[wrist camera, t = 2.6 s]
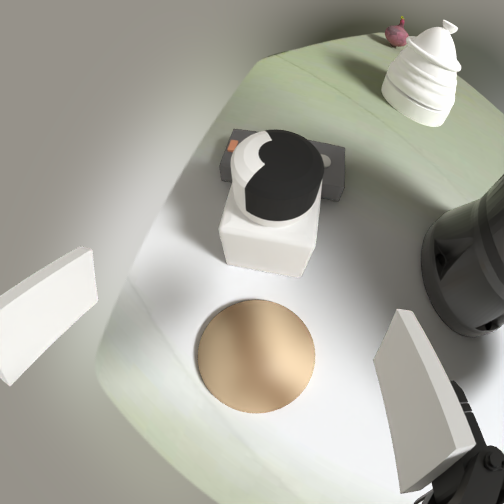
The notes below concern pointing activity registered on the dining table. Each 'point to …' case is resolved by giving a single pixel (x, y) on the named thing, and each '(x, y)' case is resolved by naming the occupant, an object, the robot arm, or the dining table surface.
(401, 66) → the honey pot
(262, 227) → the medicine bottle
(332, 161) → the power strip
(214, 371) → the coaster
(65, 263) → the robot arm
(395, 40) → the vegetable
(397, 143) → the dining table surface
